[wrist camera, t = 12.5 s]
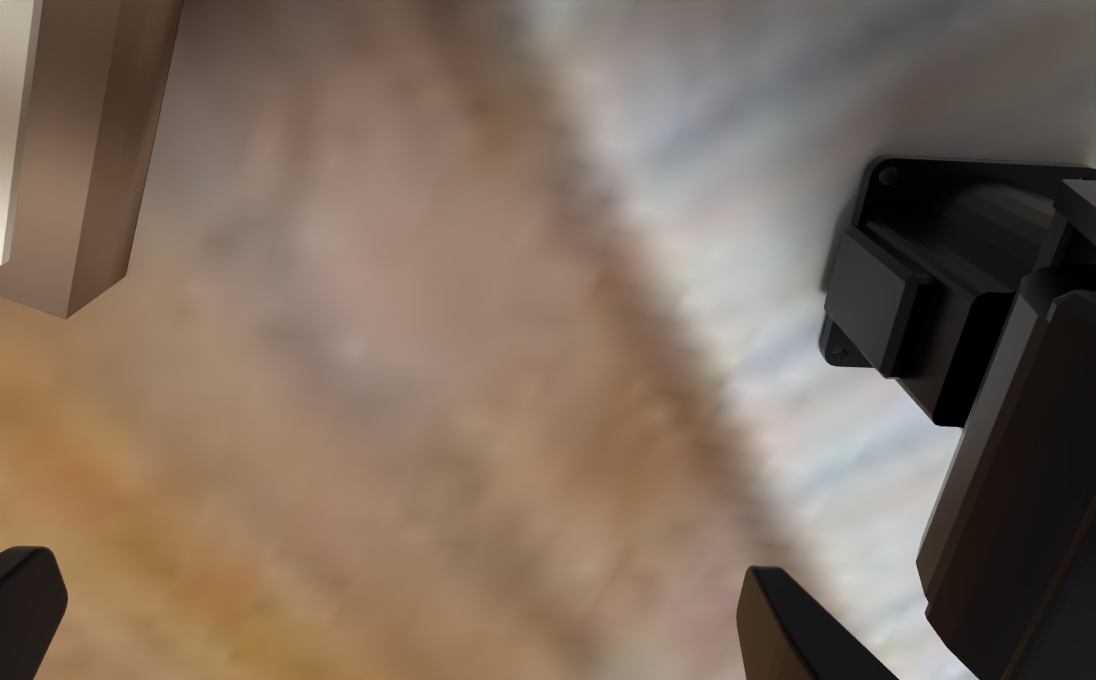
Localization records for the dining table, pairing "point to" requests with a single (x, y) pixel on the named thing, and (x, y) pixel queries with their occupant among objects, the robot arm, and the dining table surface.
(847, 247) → the robot arm
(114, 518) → the dining table surface
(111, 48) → the walnut pocket board
